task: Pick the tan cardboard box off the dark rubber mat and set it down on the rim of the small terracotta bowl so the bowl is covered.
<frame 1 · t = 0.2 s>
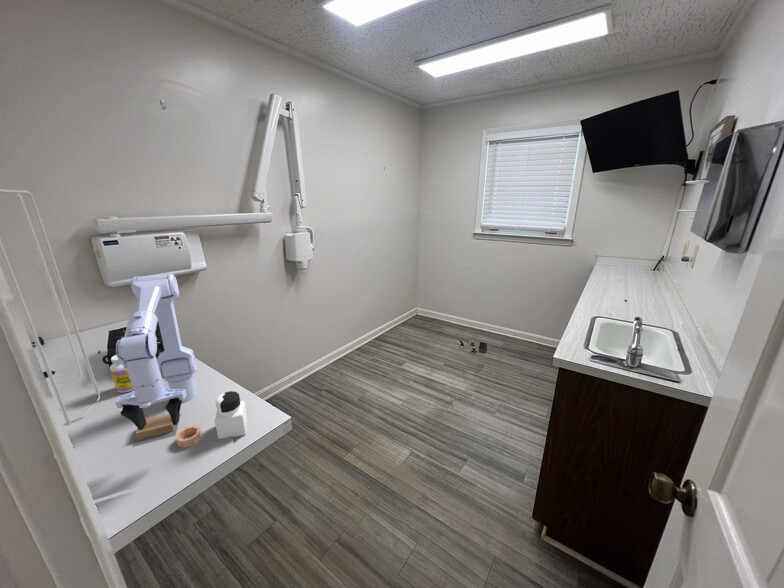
hand: (159, 424, 80), 10 cm above the worktop, fingers open, 7 cm apart
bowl: (190, 441, 87), on the worktop
medicine bottle: (233, 430, 92), on the worktop
supplement bottle: (129, 388, 110), on the worktop
mat: (158, 431, 91), on the worktop
tan cardboard box: (158, 429, 91), point 1 cm above the worktop, touching mat
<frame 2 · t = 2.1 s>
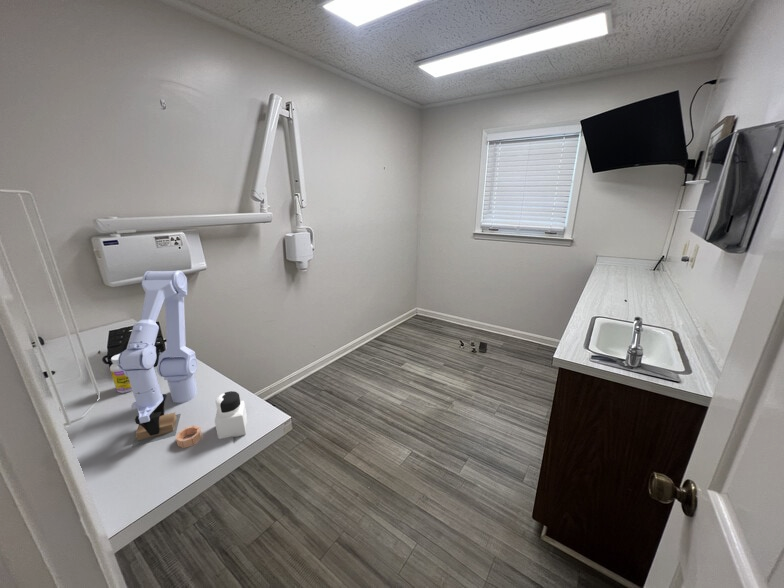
hand: (157, 426, 90), 2 cm above the worktop, fingers closed on tan cardboard box, 6 cm apart
tan cardboard box: (158, 429, 91), point 1 cm above the worktop, touching gripper, mat
everything else where it was.
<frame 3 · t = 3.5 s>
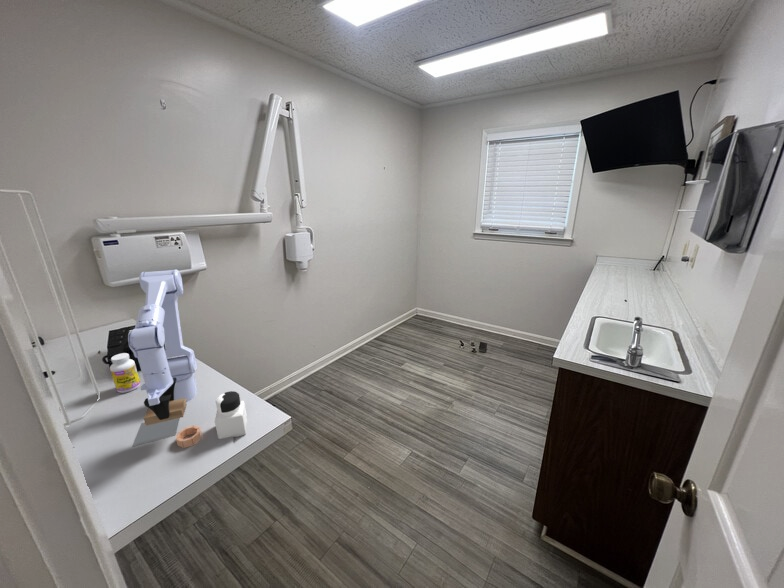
hand: (167, 411, 86), 9 cm above the worktop, fingers closed on tan cardboard box, 6 cm apart
tan cardboard box: (167, 414, 86), point 8 cm above the worktop, touching gripper
everything else where it was.
when the fingers open (5 cm above the worktop, at t = 5.1 s): tan cardboard box stays where it is, resting on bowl.
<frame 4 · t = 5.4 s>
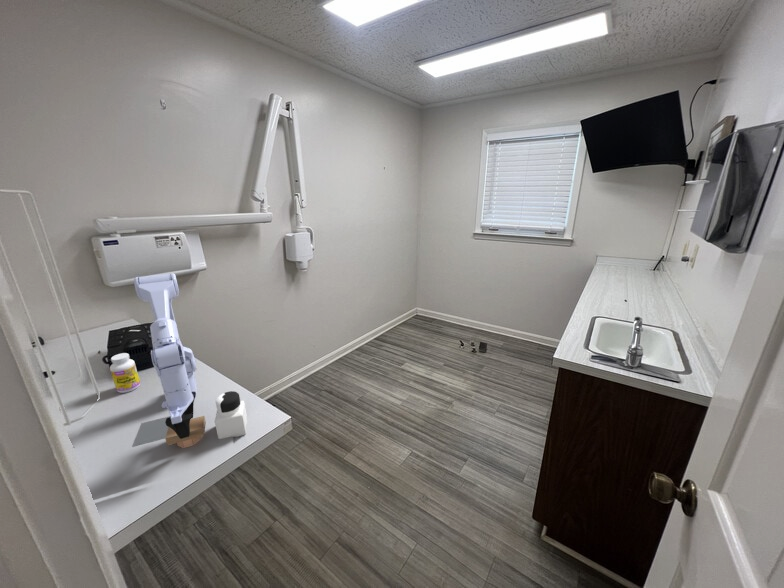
hand: (186, 427, 86), 5 cm above the worktop, fingers open, 7 cm apart
tan cardboard box: (187, 433, 86), point 3 cm above the worktop, touching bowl
everything else where it was.
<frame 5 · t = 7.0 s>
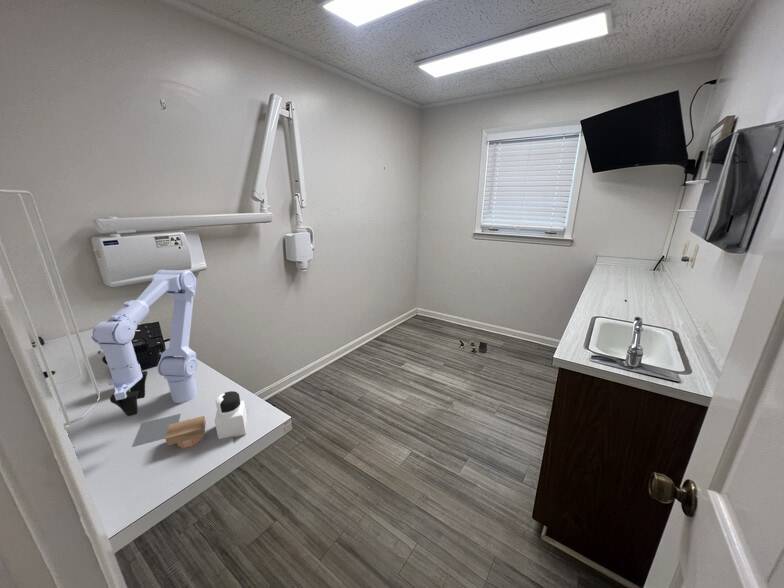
hand: (136, 405, 86), 10 cm above the worktop, fingers open, 7 cm apart
nothing on the worktop moved.
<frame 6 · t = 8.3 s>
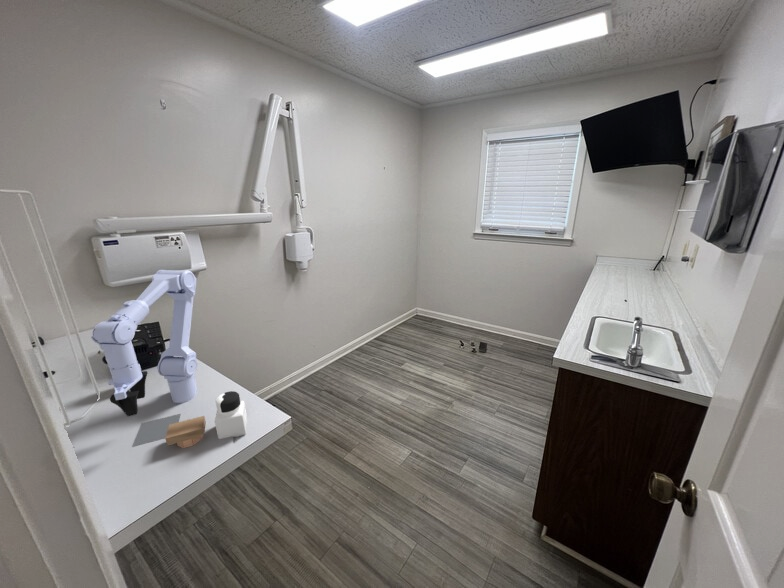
hand: (136, 405, 86), 10 cm above the worktop, fingers open, 7 cm apart
nothing on the worktop moved.
at the end: tan cardboard box 0.2 cm off-centre on the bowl, point 3.0 cm above the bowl's base; tan cardboard box tilted 0°; the gripper is holding nothing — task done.
